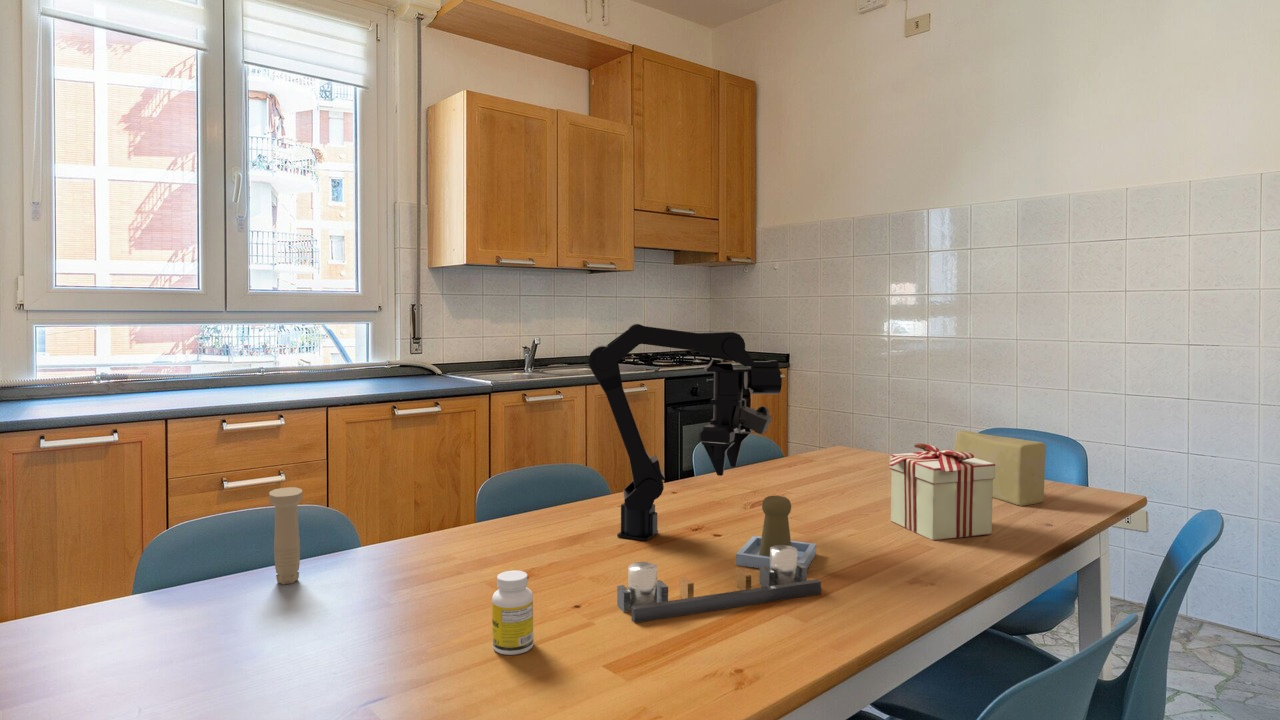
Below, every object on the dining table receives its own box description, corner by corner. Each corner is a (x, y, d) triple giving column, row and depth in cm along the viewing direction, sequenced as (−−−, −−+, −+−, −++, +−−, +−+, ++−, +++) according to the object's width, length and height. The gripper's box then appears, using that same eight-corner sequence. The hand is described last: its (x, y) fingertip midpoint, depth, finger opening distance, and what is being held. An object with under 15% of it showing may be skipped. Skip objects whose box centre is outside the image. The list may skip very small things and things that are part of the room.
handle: (271, 590, 118) (269, 497, 118) (271, 577, 124) (268, 489, 123) (305, 585, 121) (303, 494, 120) (302, 573, 126) (300, 486, 125)
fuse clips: (615, 603, 114) (615, 565, 114) (794, 577, 126) (794, 542, 126) (633, 623, 107) (634, 582, 107) (821, 593, 119) (822, 557, 119)
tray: (735, 564, 132) (735, 553, 132) (753, 545, 143) (753, 535, 143) (803, 574, 128) (803, 563, 127) (816, 554, 139) (816, 543, 138)
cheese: (941, 487, 193) (942, 430, 192) (965, 484, 198) (967, 428, 197) (1020, 507, 174) (1023, 444, 173) (1045, 502, 179) (1048, 441, 178)
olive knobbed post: (799, 559, 134) (800, 498, 133) (771, 563, 131) (773, 502, 131) (779, 549, 139) (780, 491, 139) (752, 553, 137) (753, 494, 136)
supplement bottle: (494, 638, 102) (494, 568, 101) (534, 637, 102) (534, 567, 101) (490, 657, 96) (489, 583, 96) (532, 655, 97) (532, 582, 96)
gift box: (873, 523, 160) (875, 443, 159) (941, 515, 167) (943, 439, 165) (930, 546, 144) (932, 458, 143) (1002, 537, 151) (1005, 453, 150)
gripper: (755, 401, 137) (754, 484, 138) (778, 391, 154) (777, 466, 155) (698, 398, 142) (697, 478, 143) (726, 389, 159) (725, 461, 160)
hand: (726, 471), depth 150 cm, fingers open, 9 cm apart
